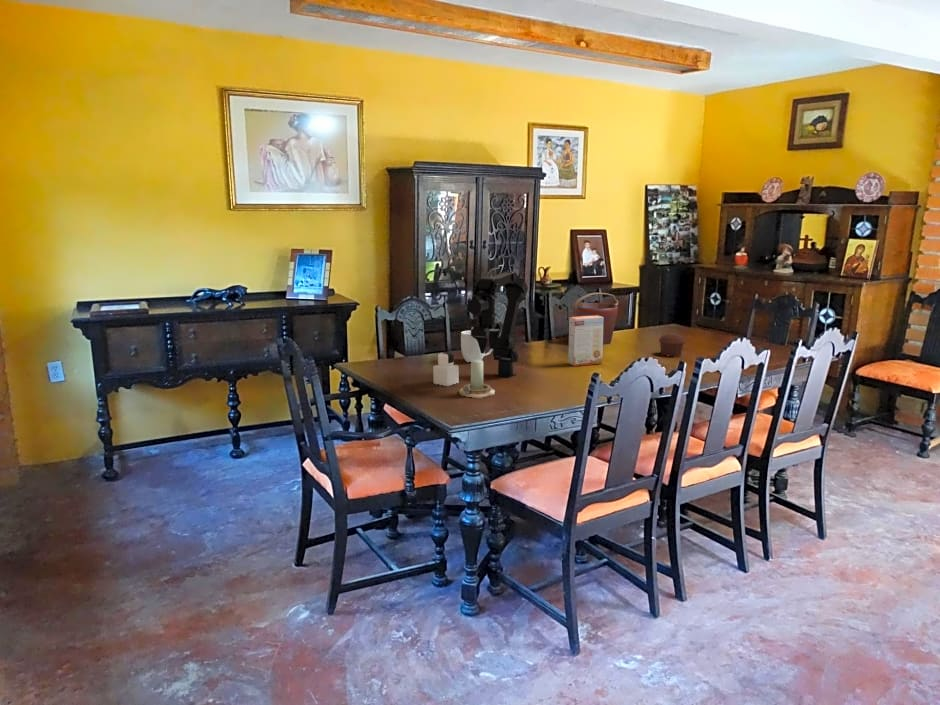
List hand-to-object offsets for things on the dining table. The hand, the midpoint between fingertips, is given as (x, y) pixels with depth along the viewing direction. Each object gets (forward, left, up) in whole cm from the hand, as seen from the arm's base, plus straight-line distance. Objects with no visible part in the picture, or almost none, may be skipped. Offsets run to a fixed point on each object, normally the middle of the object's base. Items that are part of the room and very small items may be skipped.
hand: (486, 351), depth 262 cm
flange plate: (+13, +5, -13) cm, 19 cm away
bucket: (-101, -5, -13) cm, 102 cm away
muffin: (-95, +37, -13) cm, 103 cm away
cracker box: (-54, +14, -13) cm, 57 cm away
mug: (-29, -27, -13) cm, 42 cm away
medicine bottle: (+9, -13, -13) cm, 21 cm away
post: (+13, +5, -12) cm, 18 cm away
